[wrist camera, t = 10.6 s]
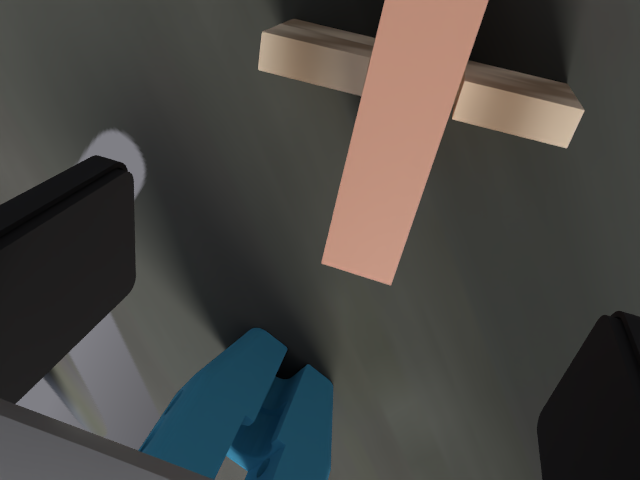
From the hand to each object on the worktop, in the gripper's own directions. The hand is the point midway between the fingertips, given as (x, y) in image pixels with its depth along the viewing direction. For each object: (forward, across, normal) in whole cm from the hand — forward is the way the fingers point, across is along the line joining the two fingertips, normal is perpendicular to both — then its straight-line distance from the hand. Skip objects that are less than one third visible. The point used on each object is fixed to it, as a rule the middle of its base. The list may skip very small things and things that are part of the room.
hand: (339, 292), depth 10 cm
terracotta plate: (+21, 0, 0) cm, 21 cm away
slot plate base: (+21, +1, 0) cm, 21 cm away
